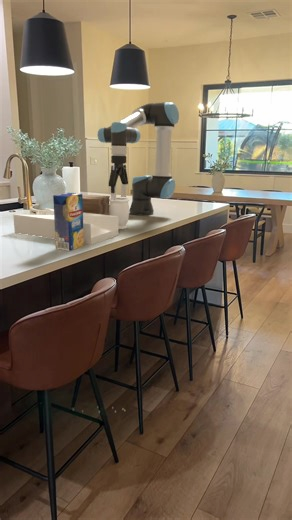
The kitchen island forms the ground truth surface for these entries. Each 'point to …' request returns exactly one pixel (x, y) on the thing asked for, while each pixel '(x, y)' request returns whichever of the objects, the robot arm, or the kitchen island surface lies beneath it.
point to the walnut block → (96, 204)
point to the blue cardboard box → (68, 221)
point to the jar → (120, 211)
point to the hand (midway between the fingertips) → (118, 198)
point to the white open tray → (44, 225)
